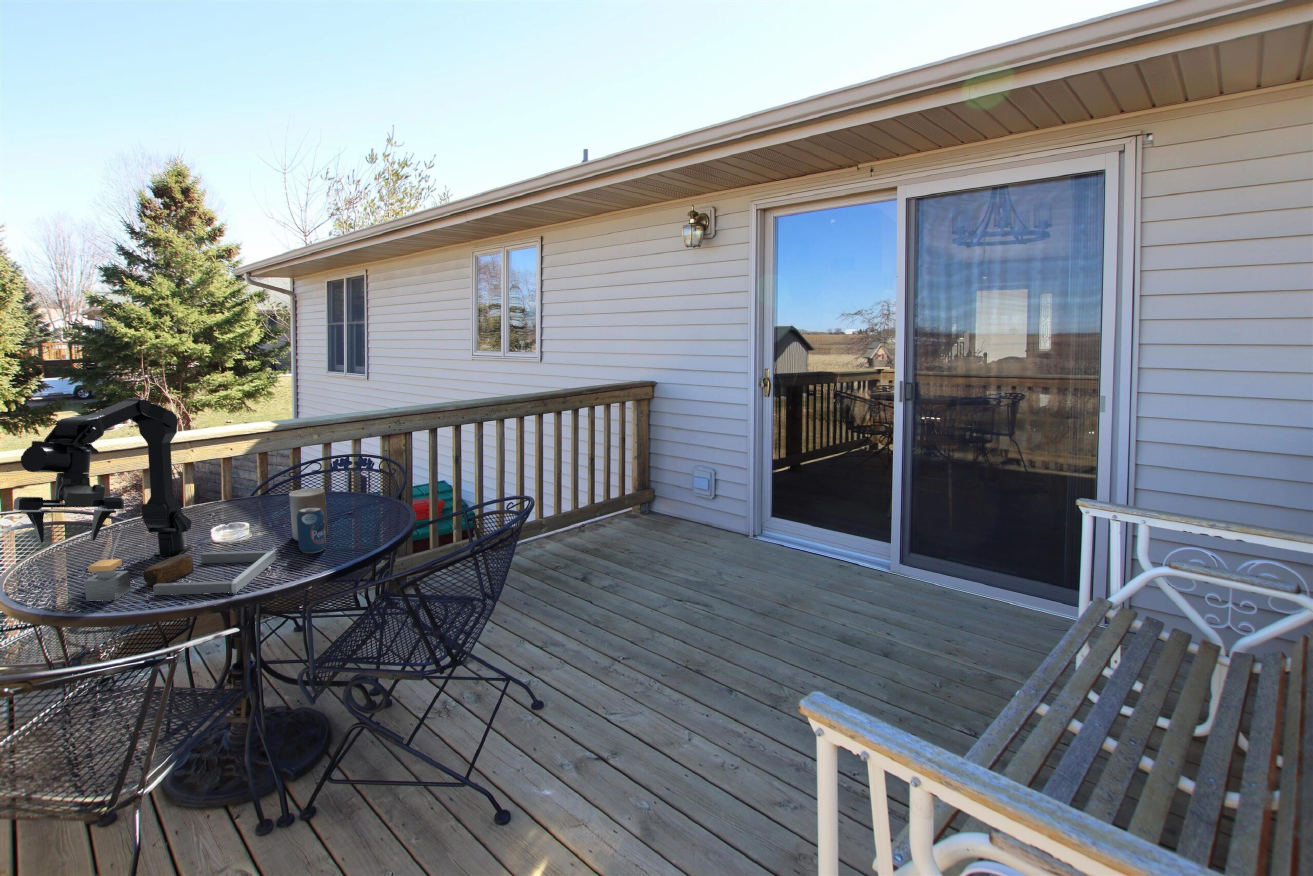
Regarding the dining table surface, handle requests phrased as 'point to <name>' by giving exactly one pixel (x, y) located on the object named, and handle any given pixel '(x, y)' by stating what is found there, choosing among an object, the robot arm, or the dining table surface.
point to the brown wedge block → (169, 569)
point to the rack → (261, 563)
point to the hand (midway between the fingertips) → (67, 541)
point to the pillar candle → (306, 505)
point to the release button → (105, 568)
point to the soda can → (311, 529)
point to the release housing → (107, 587)
